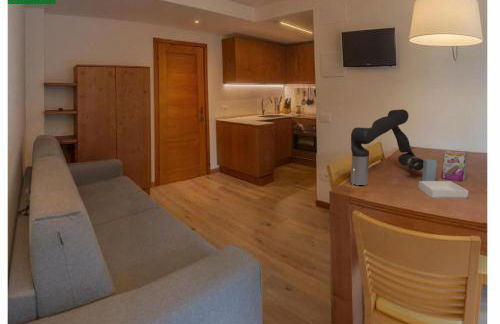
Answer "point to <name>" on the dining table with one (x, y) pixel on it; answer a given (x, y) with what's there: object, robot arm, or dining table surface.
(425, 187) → the tray
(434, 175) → the slate block
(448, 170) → the candy bar box
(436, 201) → the dining table surface
